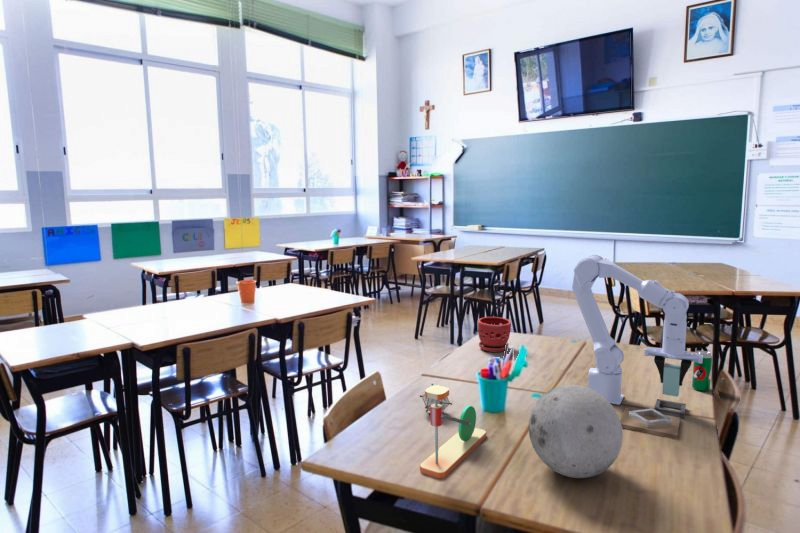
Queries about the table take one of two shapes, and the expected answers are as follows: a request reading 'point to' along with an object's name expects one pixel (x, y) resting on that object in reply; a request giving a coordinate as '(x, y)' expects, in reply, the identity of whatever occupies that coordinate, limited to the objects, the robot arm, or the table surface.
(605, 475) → the table surface
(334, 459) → the table surface
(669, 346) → the robot arm
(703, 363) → the soda can
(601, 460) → the moon model
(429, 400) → the grey wire strut frame
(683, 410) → the stand socket
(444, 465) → the crank mechanism
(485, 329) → the plant pot
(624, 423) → the socket board
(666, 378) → the teal peg
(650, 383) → the table surface
